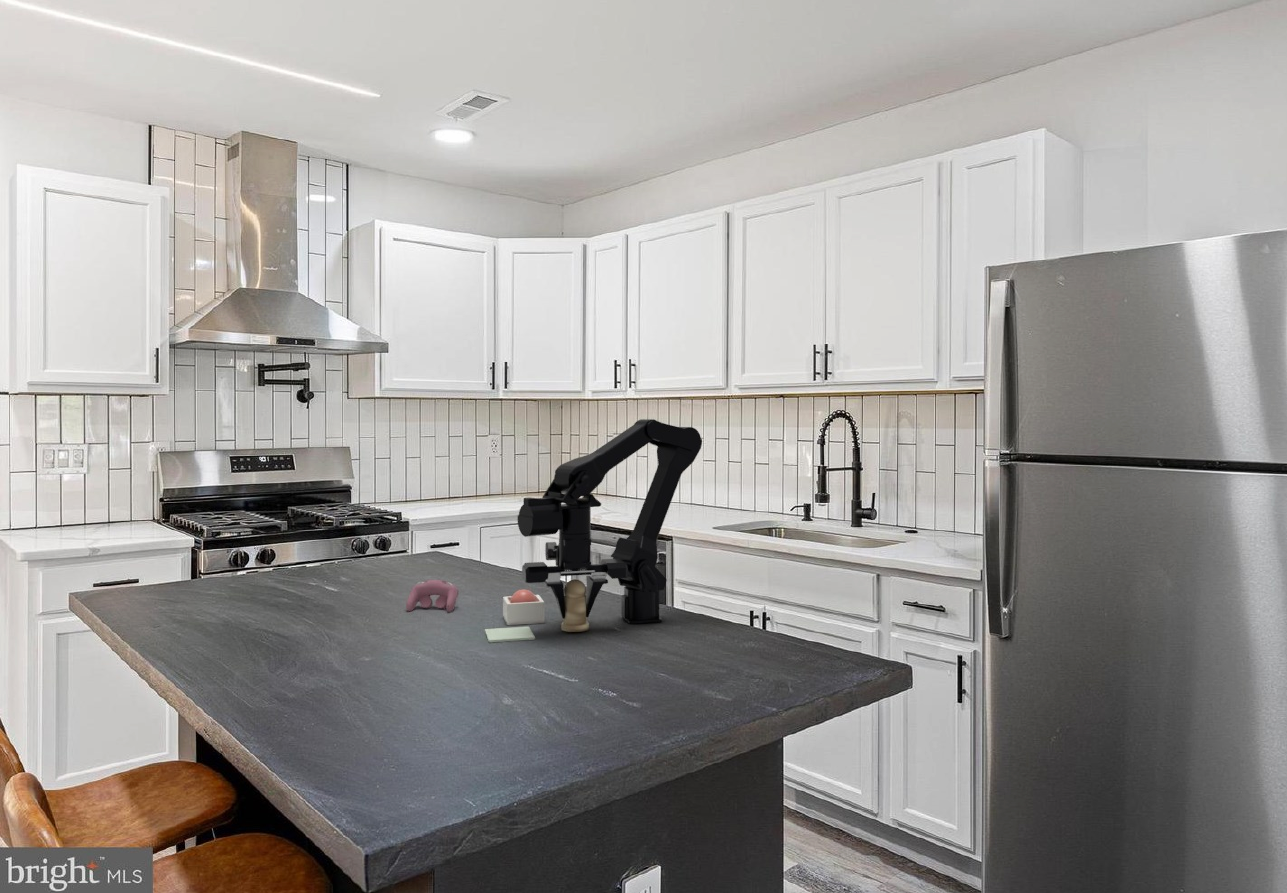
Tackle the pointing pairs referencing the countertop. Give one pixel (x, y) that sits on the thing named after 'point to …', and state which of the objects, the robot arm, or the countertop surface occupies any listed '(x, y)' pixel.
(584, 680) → the countertop surface
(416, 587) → the video game controller
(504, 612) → the housing
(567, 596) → the pawn
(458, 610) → the countertop surface
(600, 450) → the robot arm
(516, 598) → the pink rounded piece
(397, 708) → the countertop surface
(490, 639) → the pad
